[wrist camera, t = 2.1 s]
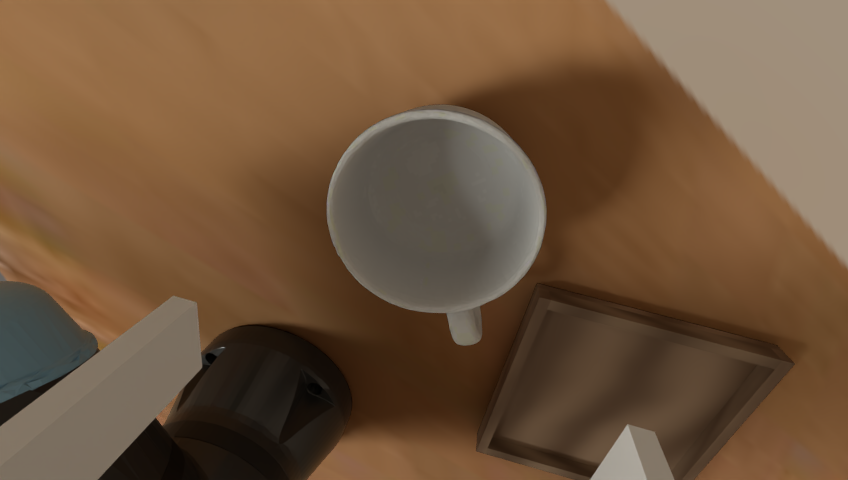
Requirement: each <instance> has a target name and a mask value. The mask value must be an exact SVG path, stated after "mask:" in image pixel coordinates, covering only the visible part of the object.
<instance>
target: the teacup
mask: <svg viewBox="0 0 848 480" xmlns="http://www.w3.org/2000/svg"><path fill="white" fill-rule="evenodd" d="M546 210H547V209H546V199H545V194H544V190H543V186H542V183H541V181H540V178H539V176H538V174H537V171H536V169H535V167H534V166H533V164H532V162H531V161H530V159H529V157H528V156H527V155H526V154H525V152H524V151H523V150H522V149H521V147H520V146H519V145H518V144H517V143H516V142H515V141H514V140H513V139H512V138H511V137H510V136H509V135H508V134H507V133H506V132H505V131H504V130H503V129H502V128H501V127H500V126H499V125H498V124H496V123H495V122H494V121H492V120H491V119H489V118H488V117H486V116H484V115H482V114H480V113H478V112H475V111H473V110H470V109H467V108H463V107H459V106H454V105H428V106H422V107H418V108H414V109H411V110H408V111H405V112H403V113H399V114H396V115H393V116H391V117H388V118H386V119H384V120H382V121H379V122H378V123H376V124H374V125H372V126H371V127H370V128H368V129H367V130H366V131H364V132H363V133H362V134H360V135H359V136H358V137H357V138H356V139H355V140H354V141H353V142H352V144H351V145H350V146H349V148H348V149H347V150H346V152H345V153H344V154H343V156H342V158H341V160H340V161H339V162H338V165H337V167H336V169H335V171H334V173H333V176H332V178H331V182H330V185H329V190H328V196H327V222H328V227H329V231H330V236H331V239H332V243H333V245H334V247H335V248H336V251H337V254H338V255H339V256H340V258H341V259H342V262H343V263H344V264H345V266H346V268H347V270H348V271H349V272H350V273H351V274H352V275H353V276H354V278H355V279H356V280H357V281H358V282H359V283H360V284H361V285H362V286H364V287H365V288H366V289H368V290H369V291H371V292H372V293H373V294H375V295H376V296H378V297H379V298H381V299H383V300H385V301H387V302H389V303H391V304H394V305H397V306H399V307H401V308H405V309H409V310H413V311H419V312H428V313H447V318H448V323H449V328H450V332H451V335H452V338H453V340H454V341H455V342H456V343H457V344H459V345H464V346H466V345H473V344H476V343H477V342H479V341H480V339H481V337H482V318H481V311H480V306H481V305H483V304H485V303H487V302H489V301H491V300H494V299H496V298H498V297H500V296H501V295H503V294H505V293H506V292H507V291H508V290H510V289H511V288H512V287H514V286H515V285H516V284H517V283H518V282H519V281H520V280H521V279H522V278H523V277H524V275H525V274H526V273H527V271H528V270H529V269H530V267H531V266H532V264H533V263H534V261H535V259H536V257H537V255H538V253H539V250H540V248H541V245H542V241H543V237H544V232H545V227H546Z"/></svg>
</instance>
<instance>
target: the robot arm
mask: <svg viewBox="0 0 848 480" xmlns="http://www.w3.org/2000/svg"><path fill="white" fill-rule="evenodd" d="M97 347H98V342H97V340H96V338H95V336H94V335H93V334H92V333H90V332H88V331H86V330H82V329H81V328H80V326H79V325H78V324H77V323H76V322H75V321H74V320H73V319H72V318H71V317H70V316H69V315H68V314H67V313H66V312H65V311H64V309H63V308H62V307H61V306H60V305H59V304H58V303H57V302H56V301H55V300H54V299H53V298H52V297H51V296H50V295H49V294H48V293H46V292H45V291H44V290H42V289H40V288H38V287H36V286H33V285H30V284H27V283H22V282H13V281H0V480H307V479H308V478H309V476H310V475H311V474H312V473H313V472H314V471H315V469H316V468H317V467H318V466H319V465H320V464H321V462H322V461H323V460H324V459H325V458H326V457H327V455H328V454H329V453H330V452H331V451H332V450H333V448H334V447H335V446H336V445H337V443H338V442H339V440H340V438H341V436H342V434H343V432H344V430H345V427H346V425H347V422H348V420H349V417H350V414H351V409H352V400H351V394H350V390H349V387H348V385H347V383H346V381H345V379H344V377H343V375H342V374H341V372H340V371H339V369H338V368H337V367H336V366H335V364H334V363H333V362H332V361H331V360H330V359H329V358H328V357H327V356H326V355H325V354H324V353H322V352H321V351H320V350H319V349H317V348H316V347H314V346H313V345H311V344H310V343H308V342H307V341H305V340H303V339H301V338H299V337H297V336H295V335H293V334H290V333H287V332H285V331H282V330H278V329H274V328H269V327H263V326H243V327H237V328H233V329H230V330H228V331H225V332H224V333H222V334H220V335H219V336H217V337H216V338H215V339H214V340H213V341H212V342H211V343H210V344H209V345H208V346H207V347H206V348H205V349H204V350H203V351H202V352H201V347H200V335H199V323H198V312H197V302H193V301H190V300H186V299H183V298H179V297H176V296H172V297H171V298H170V299H168V300H167V301H166V302H164V303H163V304H162V305H161V306H159V307H158V308H157V309H155V310H154V311H153V312H151V313H150V314H149V315H147V316H146V317H145V318H143V319H142V320H141V321H139V322H138V323H137V324H135V325H134V326H133V327H131V328H130V329H129V330H127V331H126V332H125V333H123V334H122V335H121V336H119V337H118V338H117V339H115V340H114V341H113V342H111V343H110V344H109V345H108V346H106V347H105V348H104V349H102V350H101V351H100V350H99V349H98V348H97ZM178 393H179V394H178ZM177 394H178V397H177V399H176V401H175V403H174V405H173V407H172V409H171V411H170V414H169V416H168V418H167V420H166V422H165V423H164V424H163V426H162V425H161V424H160V423H159V421H158V420H157V419H156V417H157V416H158V414H159V413H160V412H161V411H162V410H163V409H164V408H165V407H166V406H167V405H168V404H169V403H170V402H171V401H172V399H173V398H174V397H175V396H176V395H177ZM590 480H674V478H673V475H672V473H671V470H670V468H669V465H668V463H667V461H666V458H665V456H664V453H663V451H662V448H661V446H660V444H659V441H658V439H657V436H656V434H655V432H653V431H650V430H646V429H643V428H639V427H636V426H632V425H629V424H627V426H626V427H625V429H624V430H623V432H622V433H621V435H620V436H619V438H618V439H617V441H616V442H615V444H614V445H613V447H612V448H611V450H610V451H609V452H608V454H607V455H606V457H605V458H604V460H603V461H602V463H601V464H600V466H599V467H598V469H597V470H596V472H595V473H594V475H593V476H592V478H591V479H590Z"/></svg>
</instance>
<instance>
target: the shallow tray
mask: <svg viewBox="0 0 848 480" xmlns="http://www.w3.org/2000/svg"><path fill="white" fill-rule="evenodd" d="M794 364H795V363H794V362H793V361H792V360H791V359H790V358H789V357H788V356H787V355H786V354H785V353H784V352H783V351H782V350H781V349H780V348H779V347H778V346H777V345H774V344H770V343H766V342H762V341H758V340H754V339H750V338H747V337H743V336H739V335H735V334H731V333H727V332H723V331H720V330H716V329H712V328H708V327H704V326H700V325H696V324H693V323H689V322H685V321H681V320H677V319H673V318H669V317H665V316H662V315H658V314H654V313H650V312H646V311H642V310H638V309H635V308H631V307H627V306H623V305H619V304H615V303H611V302H608V301H604V300H600V299H596V298H592V297H588V296H584V295H581V294H577V293H573V292H569V291H565V290H561V289H557V288H553V287H550V286H546V285H542V284H538V283H537V285H536V288H535V290H534V293H533V295H532V298H531V300H530V303H529V305H528V308H527V310H526V313H525V315H524V318H523V320H522V323H521V325H520V328H519V330H518V333H517V335H516V338H515V340H514V343H513V345H512V348H511V350H510V353H509V355H508V358H507V360H506V363H505V365H504V368H503V370H502V373H501V375H500V378H499V380H498V383H497V385H496V388H495V390H494V393H493V395H492V398H491V400H490V403H489V405H488V408H487V410H486V413H485V415H484V418H483V420H482V423H481V425H480V428H479V430H478V433H477V446H476V451H477V452H481V453H484V454H488V455H491V456H495V457H498V458H501V459H505V460H508V461H512V462H515V463H519V464H522V465H526V466H529V467H533V468H536V469H539V470H543V471H546V472H550V473H553V474H557V475H560V476H564V477H567V478H571V479H574V480H590V479H591V478H592V476H593V475H594V473H595V472H596V470H597V469H598V467H599V466H600V464H601V463H602V461H603V460H604V458H605V457H606V455H607V454H608V452H609V451H610V450H611V448H612V447H613V445H614V444H615V442H616V441H617V439H618V438H619V436H620V435H621V433H622V432H623V430H624V429H625V427H626V426H627V424H629V425H632V426H636V427H639V428H643V429H646V430H650V431H653V432H655V434H656V436H657V439H658V441H659V444H660V446H661V448H662V451H663V453H664V456H665V458H666V461H667V463H668V465H669V468H670V470H671V473H672V475H673V478H674V480H694V479H695V478H696V477H697V476H698V474H699V473H700V472H701V471H702V470H703V469H704V468H705V466H706V465H707V464H708V463H709V462H710V461H711V460H712V458H713V457H714V456H715V455H716V454H717V453H718V452H719V450H720V449H721V448H722V447H723V446H724V445H725V444H726V442H727V441H728V440H729V439H730V438H731V437H732V435H733V434H734V433H735V432H736V431H737V430H738V429H739V427H740V426H741V425H742V424H743V423H744V422H745V421H746V419H747V418H748V417H749V416H750V415H751V414H752V413H753V411H754V410H755V409H756V408H757V407H758V406H759V405H760V403H761V402H762V401H763V400H764V399H765V398H766V397H767V395H768V394H769V393H770V392H771V391H772V390H773V389H774V387H775V386H776V385H777V384H778V383H779V382H780V381H781V379H782V378H783V377H784V376H785V375H786V374H787V372H788V371H789V370H790V369H791V368H792V367H793V366H794Z"/></svg>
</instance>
